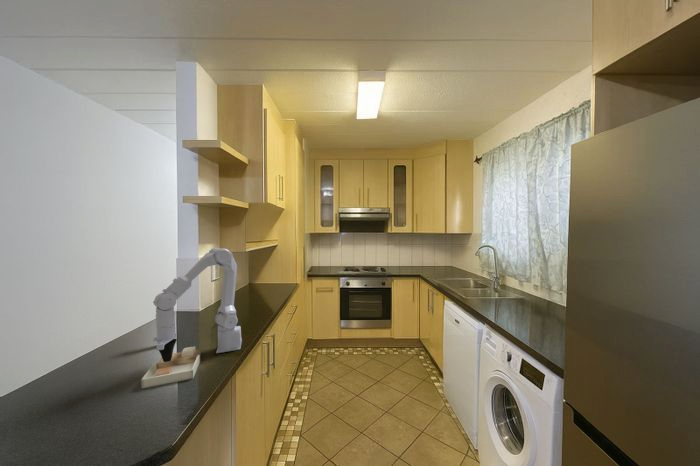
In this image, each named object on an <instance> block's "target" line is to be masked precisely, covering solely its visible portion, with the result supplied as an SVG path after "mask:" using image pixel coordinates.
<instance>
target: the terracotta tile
mask: <svg viewBox="0 0 700 466" xmlns="http://www.w3.org/2000/svg"><path fill="white" fill-rule="evenodd" d="M157 369H158V368H157ZM171 373H172V366H170V367H165V368H161V369H158V371H157V373H156V376H160V375H165V374H171Z"/></svg>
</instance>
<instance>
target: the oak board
mask: <svg viewBox="0 0 700 466" xmlns="http://www.w3.org/2000/svg"><path fill="white" fill-rule="evenodd" d="M195 350H196V351H195V353H194V355H193V356H188V357H182V354H181V352H182V351H180V352H175V353H174V352H173V354H172V359H171V361H168V362H164V361H163V359H162V357H161V358H160V359H159V360H158V361H157V362H156V367H157V369H160V368H165V367H170V366H177V365H182V364H188V363H193V362H195V360H196V358H197V356H198V355H200V356H201V355H202V354H201V352H202V351H201V348H197V349H196V348H195Z"/></svg>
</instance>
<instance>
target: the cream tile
mask: <svg viewBox="0 0 700 466" xmlns="http://www.w3.org/2000/svg"><path fill="white" fill-rule="evenodd" d="M195 351H196V346H189V347H184V348H183V349H182V351H180V352H181V354H182V357H188V356H193V355H194V353H195Z"/></svg>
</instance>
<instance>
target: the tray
mask: <svg viewBox="0 0 700 466" xmlns="http://www.w3.org/2000/svg"><path fill="white" fill-rule="evenodd" d="M200 363H201V355H198V356H197V358H196V360H195V362H193V363H188V364H182V365H177V366H172V373H171V374H165V375H160V376H156V373H157V371H158V368H157V362H153V364H152V365H150V367H149V369H148V370H147V371H146V373H144V375H143V376H142V378H141V379H140V386H141V388H140V389H141V390H143V389H148V388H153V387H158V386H162V385H167V384H168V385H169V384H173V383H178V382H183V381H187V380H192V379H194V378H195V376H196V373H197V371H198V369H199V366H200ZM160 369H161V368H160Z"/></svg>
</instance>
